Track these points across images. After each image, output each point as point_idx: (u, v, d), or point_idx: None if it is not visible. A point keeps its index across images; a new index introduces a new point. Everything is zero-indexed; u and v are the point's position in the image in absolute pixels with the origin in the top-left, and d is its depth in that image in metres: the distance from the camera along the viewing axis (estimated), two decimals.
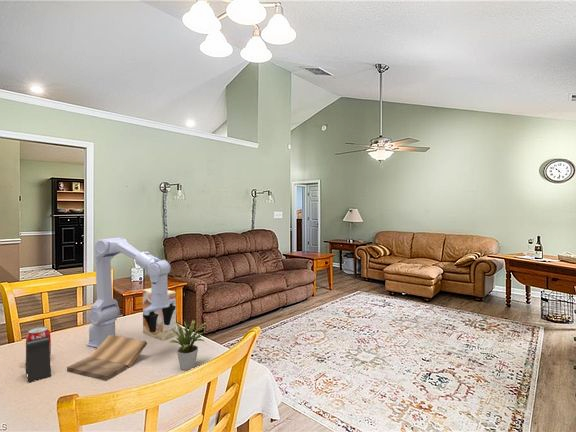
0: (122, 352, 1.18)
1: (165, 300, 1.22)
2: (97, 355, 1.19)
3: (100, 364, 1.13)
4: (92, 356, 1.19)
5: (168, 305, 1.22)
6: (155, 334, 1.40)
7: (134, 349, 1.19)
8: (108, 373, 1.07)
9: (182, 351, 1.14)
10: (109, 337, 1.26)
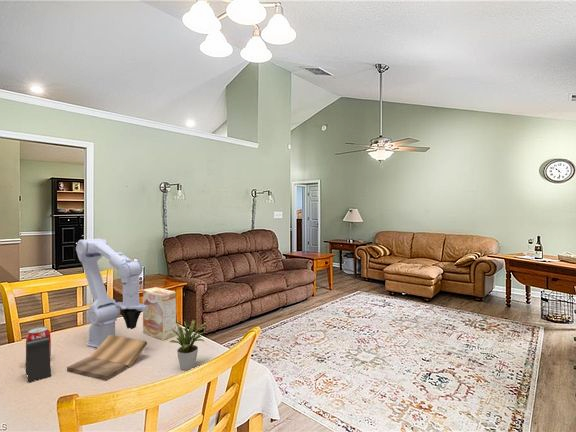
0: (122, 352, 1.18)
1: (125, 301, 1.23)
2: (97, 355, 1.19)
3: (100, 364, 1.13)
4: (92, 356, 1.19)
5: (122, 307, 1.22)
6: (155, 334, 1.40)
7: (134, 349, 1.19)
8: (108, 373, 1.07)
9: (182, 351, 1.14)
10: (109, 337, 1.26)
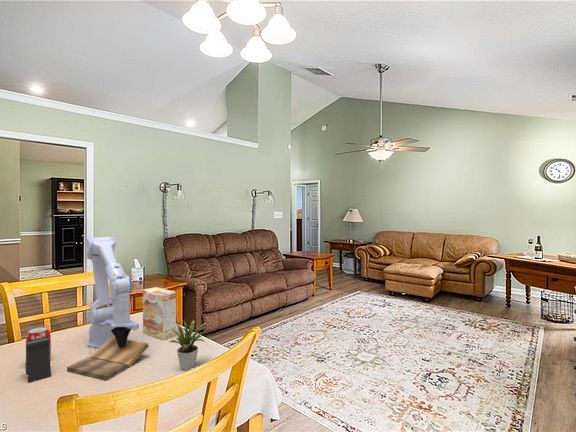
0: (123, 352, 1.19)
1: (115, 319, 1.19)
2: (98, 355, 1.20)
3: (100, 364, 1.13)
4: (93, 356, 1.19)
5: (112, 326, 1.18)
6: (155, 334, 1.40)
7: (135, 350, 1.19)
8: (108, 373, 1.07)
9: (182, 351, 1.14)
10: (111, 339, 1.27)
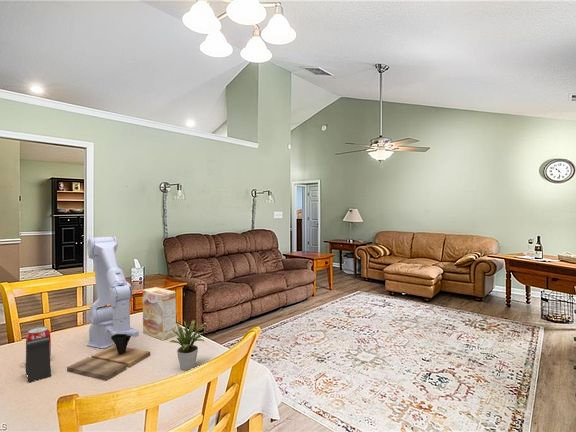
0: (125, 355, 1.20)
1: (114, 327, 1.19)
2: (100, 355, 1.20)
3: (100, 364, 1.13)
4: (94, 355, 1.20)
5: (112, 333, 1.18)
6: (155, 334, 1.40)
7: (138, 355, 1.20)
8: (108, 373, 1.07)
9: (182, 351, 1.14)
10: (113, 346, 1.28)
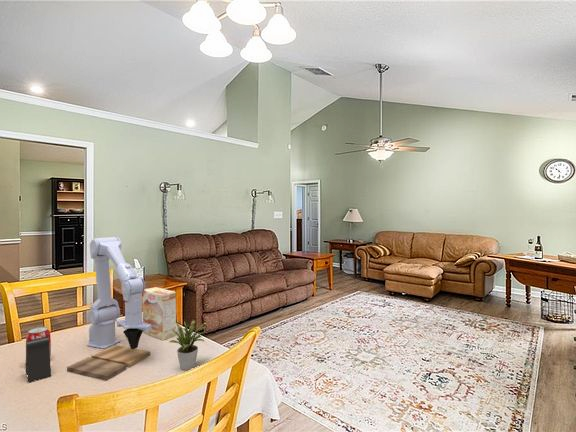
0: (125, 355, 1.20)
1: (127, 321, 1.17)
2: (100, 355, 1.20)
3: (100, 364, 1.13)
4: (94, 355, 1.20)
5: (125, 327, 1.16)
6: (155, 334, 1.40)
7: (138, 355, 1.20)
8: (108, 373, 1.07)
9: (182, 351, 1.14)
10: (113, 346, 1.28)
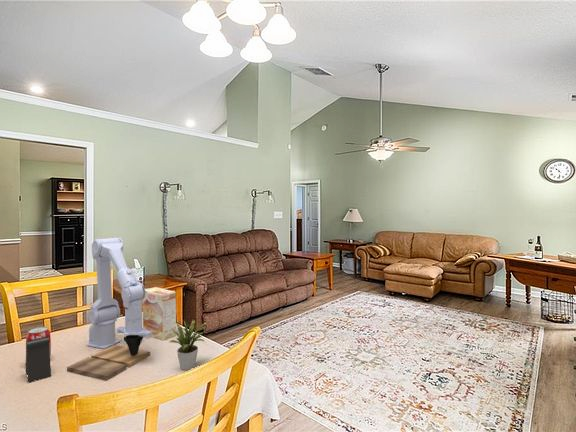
0: (125, 355, 1.20)
1: (127, 327, 1.17)
2: (100, 355, 1.20)
3: (100, 364, 1.13)
4: (94, 355, 1.20)
5: (125, 334, 1.16)
6: (155, 334, 1.40)
7: (138, 355, 1.20)
8: (108, 373, 1.07)
9: (182, 351, 1.14)
10: (113, 346, 1.28)
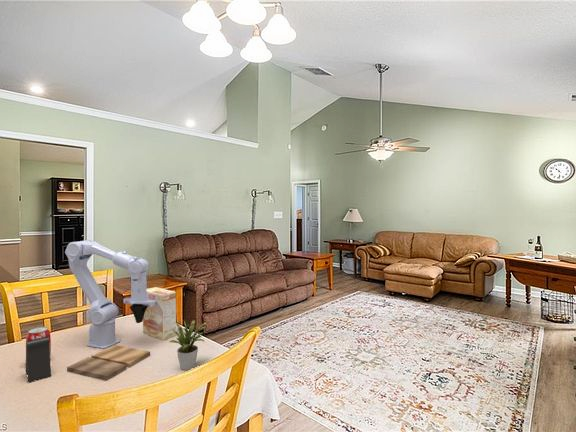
0: (125, 355, 1.20)
1: (133, 297, 1.29)
2: (100, 355, 1.20)
3: (100, 364, 1.13)
4: (94, 355, 1.20)
5: (131, 302, 1.28)
6: (155, 334, 1.40)
7: (138, 355, 1.20)
8: (108, 373, 1.07)
9: (182, 351, 1.14)
10: (113, 346, 1.28)
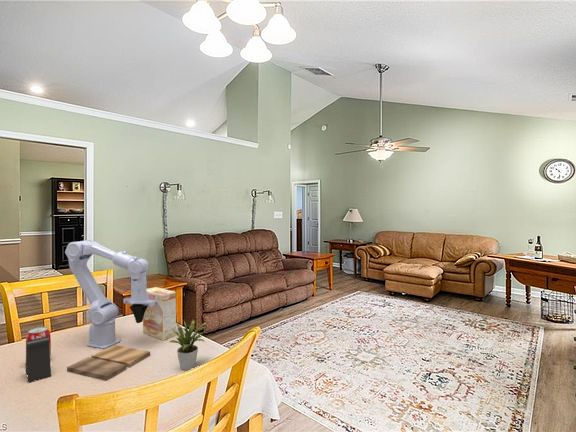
0: (125, 355, 1.20)
1: (133, 297, 1.29)
2: (100, 355, 1.20)
3: (100, 364, 1.13)
4: (94, 355, 1.20)
5: (131, 302, 1.28)
6: (155, 334, 1.40)
7: (138, 355, 1.20)
8: (108, 373, 1.07)
9: (182, 351, 1.14)
10: (113, 346, 1.28)
